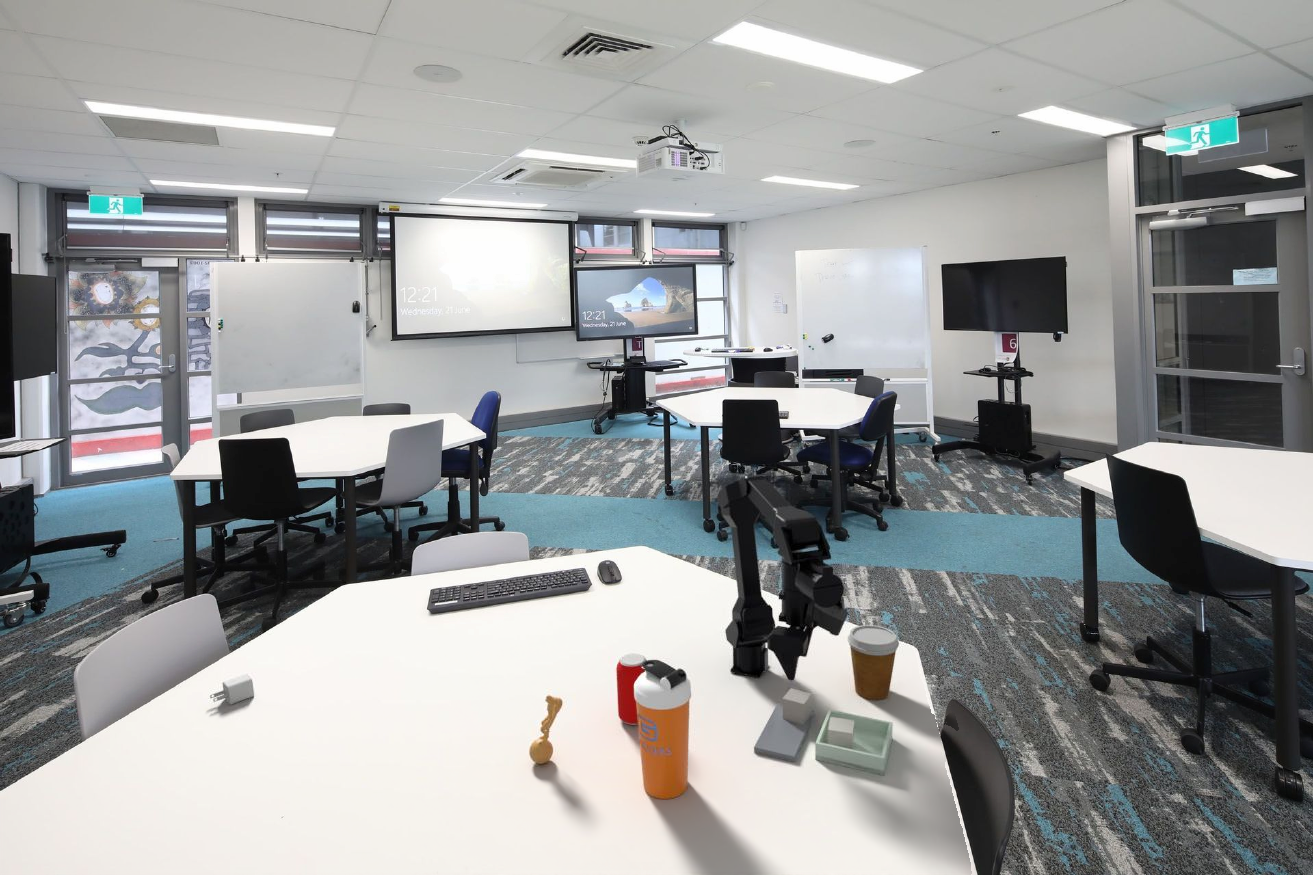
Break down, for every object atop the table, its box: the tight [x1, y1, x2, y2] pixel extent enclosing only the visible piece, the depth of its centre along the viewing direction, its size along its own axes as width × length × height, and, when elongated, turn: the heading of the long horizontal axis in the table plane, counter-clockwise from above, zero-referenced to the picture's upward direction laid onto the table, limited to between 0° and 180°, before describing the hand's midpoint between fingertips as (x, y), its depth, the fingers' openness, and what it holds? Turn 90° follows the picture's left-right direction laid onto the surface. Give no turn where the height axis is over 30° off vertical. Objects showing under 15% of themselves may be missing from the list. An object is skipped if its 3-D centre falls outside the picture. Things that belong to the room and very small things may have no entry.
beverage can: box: [615, 653, 647, 726], centre depth 130 cm, size 6×6×12 cm
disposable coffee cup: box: [847, 624, 900, 701], centre depth 137 cm, size 10×10×12 cm
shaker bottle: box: [634, 659, 692, 800], centre depth 111 cm, size 9×9×20 cm
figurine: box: [528, 694, 563, 765], centre depth 118 cm, size 8×6×12 cm
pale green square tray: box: [814, 709, 894, 776], centre depth 120 cm, size 11×11×3 cm
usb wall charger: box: [209, 673, 255, 706], centre depth 142 cm, size 4×7×4 cm, turn 137°
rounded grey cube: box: [828, 717, 854, 750], centre depth 119 cm, size 4×4×4 cm
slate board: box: [753, 702, 815, 763], centre depth 125 cm, size 7×15×1 cm, turn 155°
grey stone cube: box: [782, 688, 813, 725], centre depth 128 cm, size 4×4×4 cm
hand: (797, 667), depth 127 cm, fingers open, 9 cm apart
